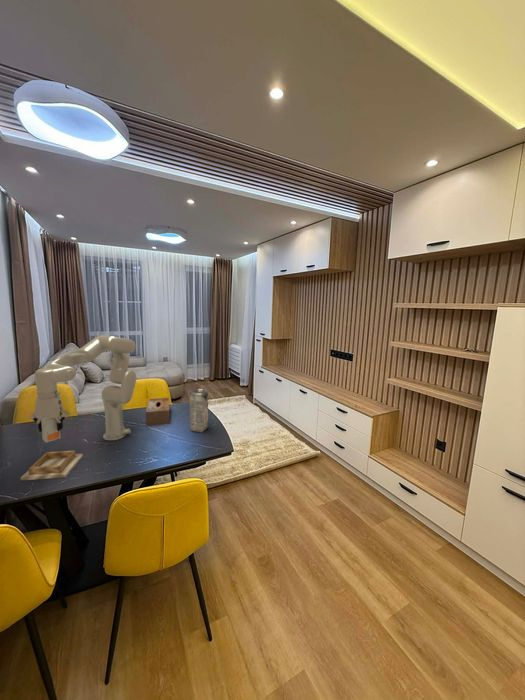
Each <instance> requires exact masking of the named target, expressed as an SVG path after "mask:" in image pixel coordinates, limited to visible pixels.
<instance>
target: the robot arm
mask: <svg viewBox="0 0 525 700" xmlns="http://www.w3.org/2000/svg"><path fill="white" fill-rule="evenodd" d="M136 346H137V345H136V343H135V341H134V340H132V339H130V338H129V339H128V338H124V337H119V336H114V335H103V334H102V335H96V337H94V338H92V339H91V340H90V341H89V342H87V343H85V344H84V345H83V346H81V347H80V348H78V349H77V350H73V351H70V352H69V353H68V352H67V353H66V354H64V355H61V356H60V357H58V358H56V359H55V360H53V361H52V362H50V363H49V364H48V365H47V366H46V368H39V369H36V371H35V372H34V377H35V378H34V380H35V388H36V396H37V398H36V399H35V405H34V412H32V413H31V414H29V418H30V419H32V420H33V421H34V422H35V423H36V425H37V429H38V432H39V433H42V427H41V419H42V418H55V419H56V420H57V422H58V423H57V431H60V432H61V430H62V429H63V428H64V424H63V423H64V422H63V421H64V420H66V419H67V417H68V416H69V415H70V413H69V412H67V411H66V410H64V406H63V401H62V398H61V396H60V395H61V392H60V391H58V384H57V383H61V382H62V383H63V382H69V381H72V380H73V379H75V377H76V375H77V370H76V369H75V368H74V366H78V365H82V364H87V363H90V362H93V361H94V360H95V359H96V358H98V357H99V356H100V355H101V354H103V353H104V352H106V351H107V352H111V354H112V357H113V360H112V364H111V367H110V368H111V369H110V372H109V375H108V376H109V378H108V380H109V381H110V382H111V383H113V384H117V385H106V386H105V387H104V388H103V389H102V392H101V398H102V402H103V407H104V419H105V420H104V422H105V423H104V424H105V432H104V433H103V435H102V438H103V440H106V441H116V440H120V439H122V438H124V437H126V436H127V434H131V433H132V430H131V429H130V428H126V427H125V426H124V414H123V413H124V412H123V411H124V410H123V409H124V408H123V405H126V404H128V403H129V402H130V401H131V400H132V397H133V395H134V391H135V387H136V383H137V373H136V371H134V370H133V369H130V368H129V369H128V367H129V363H130V358H129V354H133V352H134V351H135V350H136ZM118 385H120V386H118Z"/></svg>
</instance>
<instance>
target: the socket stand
mask: <svg viewBox="0 0 525 700" xmlns="http://www.w3.org/2000/svg"><path fill="white" fill-rule="evenodd" d="M83 457H84V454H83V453H77V450H63V451H62V450H60V451H59V450H58V451H47V452H46V451H45V453H44V454H43V455H42V456H41V457H40V458H38V459H37V460H36V461H35V462H34V463H33V464H32V465H31V466H30V467H29V468H28V470H27V471H26V472H25V473H24V474H23V475H22V476H20V481H32V480H35V481H36V480H47V479H59V478H66V477H67V476H68V475H69V474H70V473H71V471H72V470H74V468H75V466H77V464H78V463H79V461H80V460H81V459H82V458H83Z"/></svg>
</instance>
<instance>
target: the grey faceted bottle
mask: <svg viewBox="0 0 525 700" xmlns="http://www.w3.org/2000/svg"><path fill="white" fill-rule="evenodd" d="M208 426H209V392H208V391H205V390H204V389H203V388H198V389H195V390H192V391H191V392H189V430H190V431H192V432H195V433H196V432H197V433H203V432H205V431H206V430H207V429H208Z"/></svg>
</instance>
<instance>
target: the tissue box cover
mask: <svg viewBox="0 0 525 700" xmlns="http://www.w3.org/2000/svg"><path fill="white" fill-rule="evenodd" d="M145 423H146V424H145V425H146V427H149V426H150V427H151V426H161V425H168V424H169V425H170V397H159V398H148V401H147V406H146V409H145Z"/></svg>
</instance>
